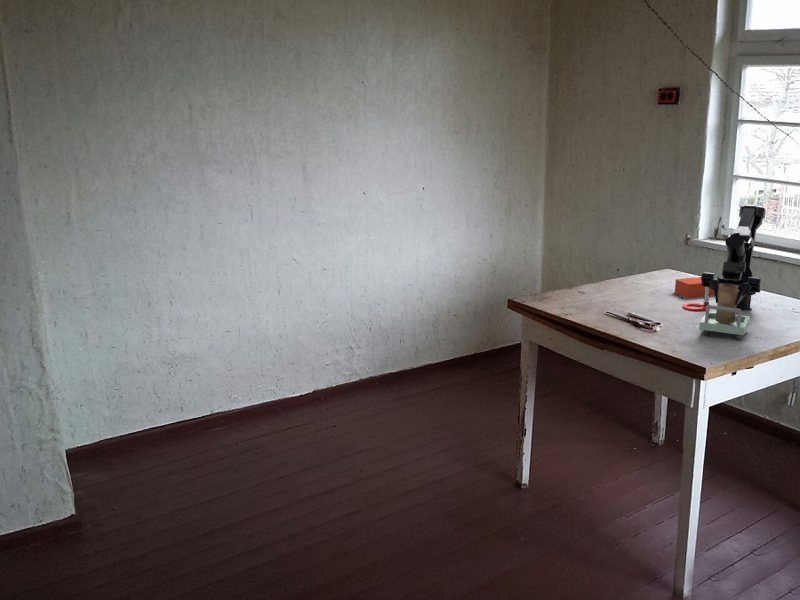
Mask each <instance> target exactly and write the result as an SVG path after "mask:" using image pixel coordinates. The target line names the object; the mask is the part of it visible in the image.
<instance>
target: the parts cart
mask: <svg viewBox="0 0 800 600" xmlns="http://www.w3.org/2000/svg"><path fill="white" fill-rule="evenodd" d="M709 309H710V310H716V311H717V310H724V311H732V312H736V313H737V314H735V322H734V323H731V324H725V323H720V322H717V321H716V311H710V310H709ZM742 314H743V310H740V309H737V308H729V307H720V306H717V305H710V304H709V305H707V306H706V310H705V314H704V315H703V317H702V318H701V320H700V321H699V326H698V327H699V328H698V329H699V330H702V335H703V336H708V333H709V332H715V333H716V332H717V333H723V334H730V335H731V334H732V335H735V340H737V341H740V340H741V336H745V333H746V331H747V330H748V327H749V325H750V320H751V316H747V315H742Z"/></svg>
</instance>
